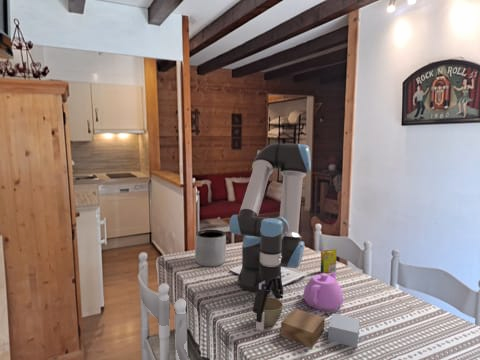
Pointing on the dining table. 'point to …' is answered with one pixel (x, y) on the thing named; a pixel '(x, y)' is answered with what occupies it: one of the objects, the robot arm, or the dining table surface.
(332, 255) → the crayon box
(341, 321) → the slate block
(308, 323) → the walnut block
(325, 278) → the teapot
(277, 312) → the tan cup
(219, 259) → the planter
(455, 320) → the dining table surface
